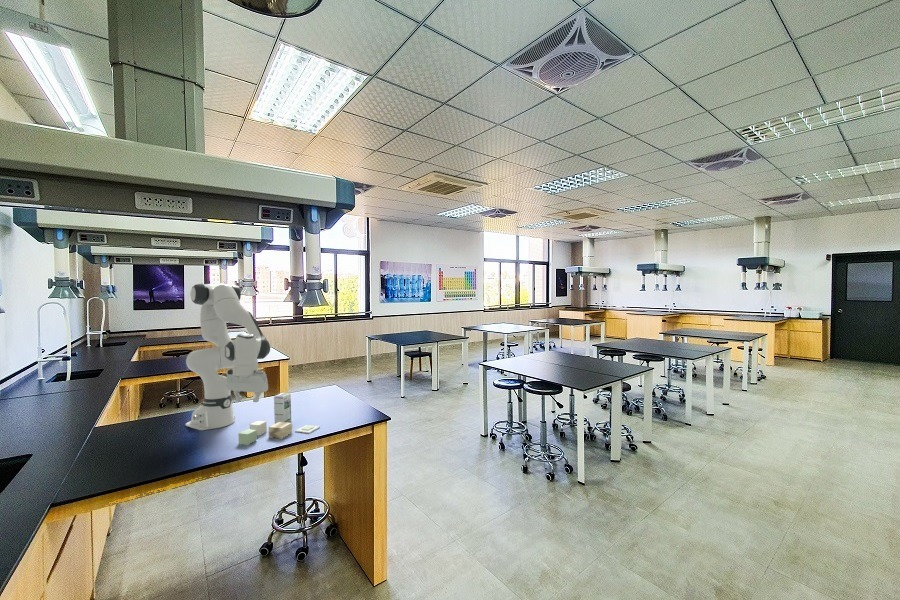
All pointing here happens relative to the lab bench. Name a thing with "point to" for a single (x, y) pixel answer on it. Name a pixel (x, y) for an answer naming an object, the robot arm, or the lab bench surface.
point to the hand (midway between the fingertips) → (247, 401)
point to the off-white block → (259, 427)
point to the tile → (307, 429)
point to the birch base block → (280, 429)
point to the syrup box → (282, 407)
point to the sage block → (247, 436)
